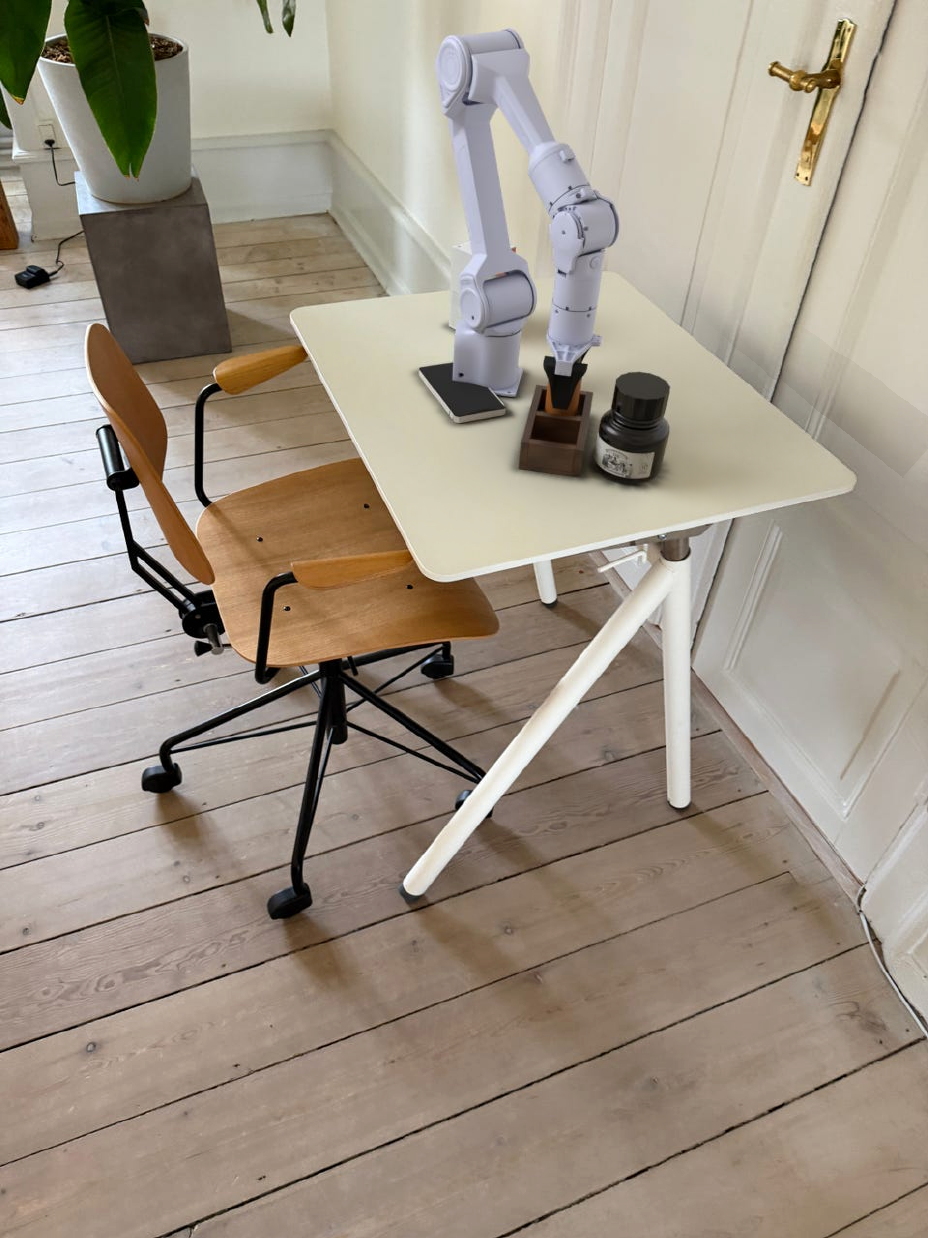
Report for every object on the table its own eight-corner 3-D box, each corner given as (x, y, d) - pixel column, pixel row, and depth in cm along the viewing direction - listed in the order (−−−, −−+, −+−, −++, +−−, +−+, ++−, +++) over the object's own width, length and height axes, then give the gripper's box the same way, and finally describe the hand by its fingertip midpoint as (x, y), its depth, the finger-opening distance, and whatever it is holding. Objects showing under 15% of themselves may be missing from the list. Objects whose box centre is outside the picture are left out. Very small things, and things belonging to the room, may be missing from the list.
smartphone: (466, 359, 140) (508, 407, 130) (466, 366, 141) (507, 415, 131) (416, 367, 137) (455, 417, 127) (416, 374, 138) (454, 425, 128)
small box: (475, 340, 146) (479, 258, 137) (447, 326, 149) (450, 245, 141) (510, 325, 151) (517, 245, 142) (483, 312, 154) (487, 232, 145)
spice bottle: (542, 422, 126) (549, 357, 119) (546, 405, 129) (553, 342, 122) (574, 426, 125) (583, 362, 119) (577, 409, 129) (586, 346, 122)
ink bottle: (577, 465, 122) (589, 384, 114) (614, 439, 127) (628, 359, 119) (640, 496, 118) (657, 413, 110) (675, 467, 123) (695, 386, 115)
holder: (518, 468, 121) (521, 441, 118) (533, 410, 132) (536, 384, 129) (579, 477, 120) (583, 450, 117) (589, 417, 131) (593, 391, 128)
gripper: (602, 331, 110) (586, 430, 120) (610, 281, 121) (596, 376, 130) (543, 324, 111) (532, 423, 120) (557, 275, 122) (546, 369, 131)
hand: (562, 398), depth 125 cm, fingers closed on spice bottle, 4 cm apart
